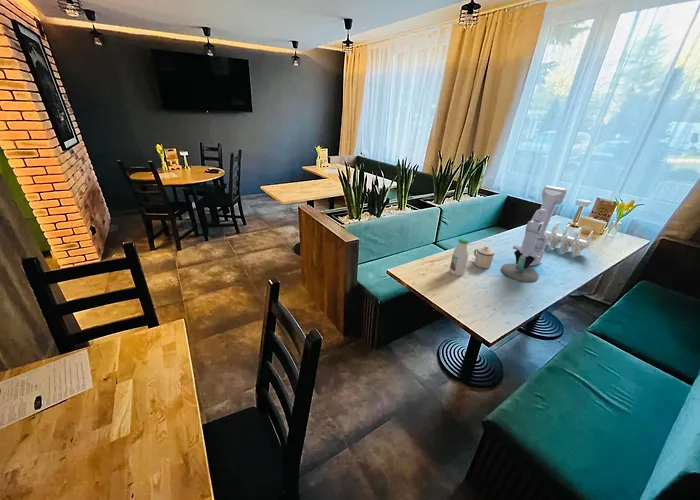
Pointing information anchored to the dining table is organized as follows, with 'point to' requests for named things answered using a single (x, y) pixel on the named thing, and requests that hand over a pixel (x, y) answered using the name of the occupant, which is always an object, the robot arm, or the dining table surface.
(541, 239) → the robot arm
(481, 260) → the teacup with lid
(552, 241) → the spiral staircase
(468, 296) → the dining table surface
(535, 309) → the dining table surface
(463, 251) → the milk bottle
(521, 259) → the pepper shaker
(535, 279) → the slate plate
